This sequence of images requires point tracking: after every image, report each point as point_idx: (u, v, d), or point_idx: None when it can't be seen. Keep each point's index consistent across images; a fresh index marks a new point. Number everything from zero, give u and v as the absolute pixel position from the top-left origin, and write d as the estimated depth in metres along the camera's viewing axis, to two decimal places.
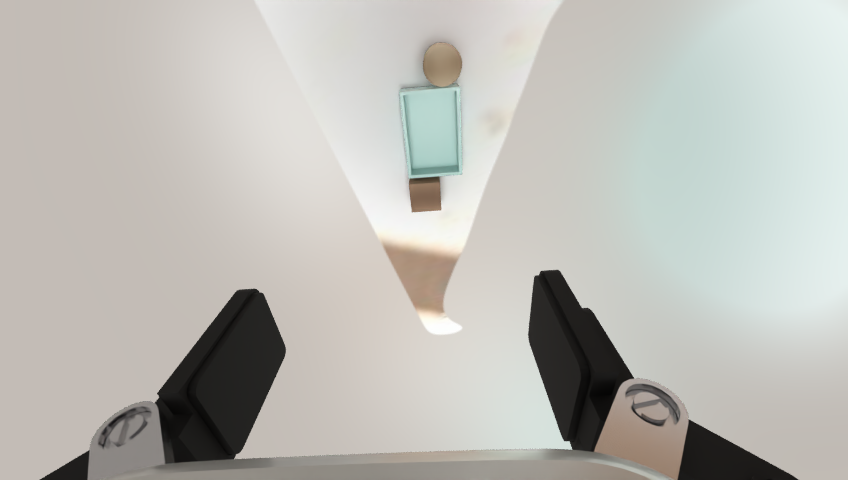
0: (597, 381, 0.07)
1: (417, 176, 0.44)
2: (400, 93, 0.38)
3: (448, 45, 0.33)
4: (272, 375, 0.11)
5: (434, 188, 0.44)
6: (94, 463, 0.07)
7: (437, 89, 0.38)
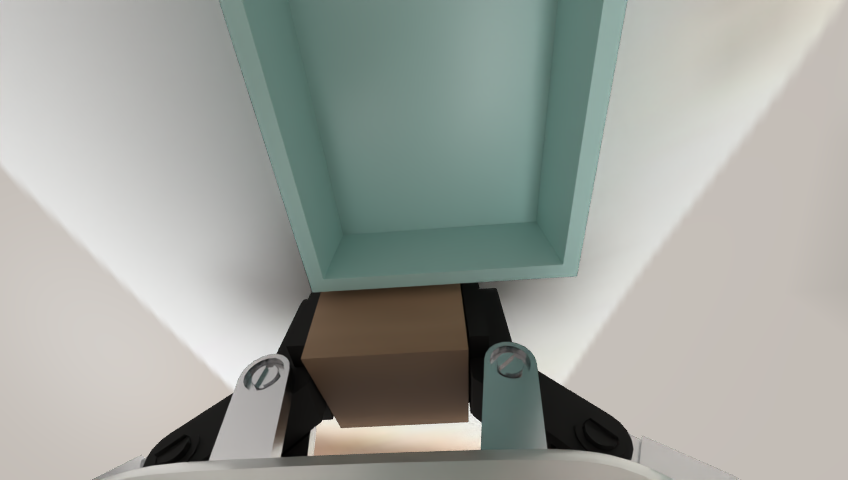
0: (474, 345, 0.08)
1: (353, 283, 0.09)
2: None
3: None
4: None
5: (439, 369, 0.08)
6: (235, 397, 0.08)
7: None
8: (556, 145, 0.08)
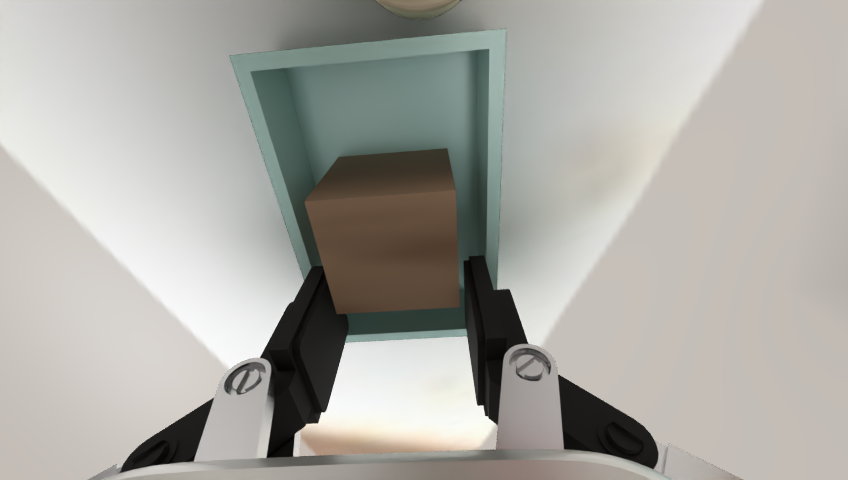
0: (491, 347, 0.08)
1: (352, 338, 0.14)
2: (235, 61, 0.09)
3: None
4: (341, 346, 0.12)
5: (427, 155, 0.11)
6: (216, 403, 0.08)
7: (401, 42, 0.08)
8: (480, 252, 0.13)
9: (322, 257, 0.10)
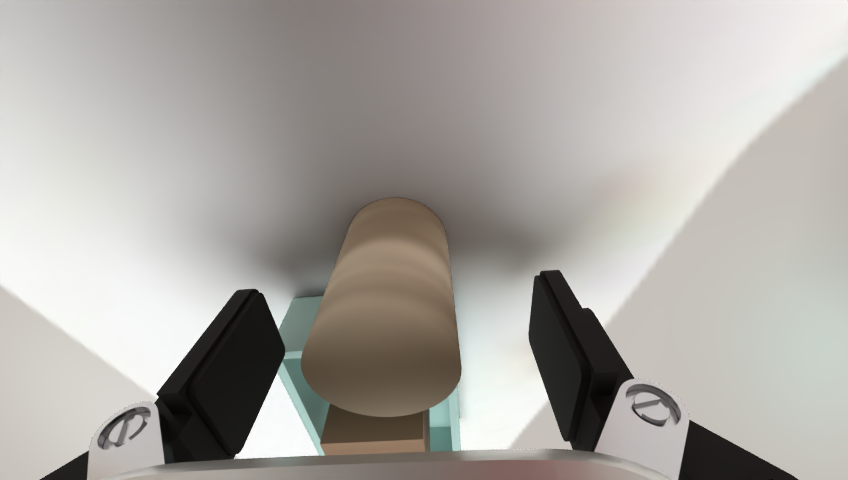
0: (597, 381, 0.07)
1: None
2: None
3: (401, 321, 0.07)
4: (272, 375, 0.11)
5: None
6: (93, 463, 0.07)
7: None
8: None
9: None
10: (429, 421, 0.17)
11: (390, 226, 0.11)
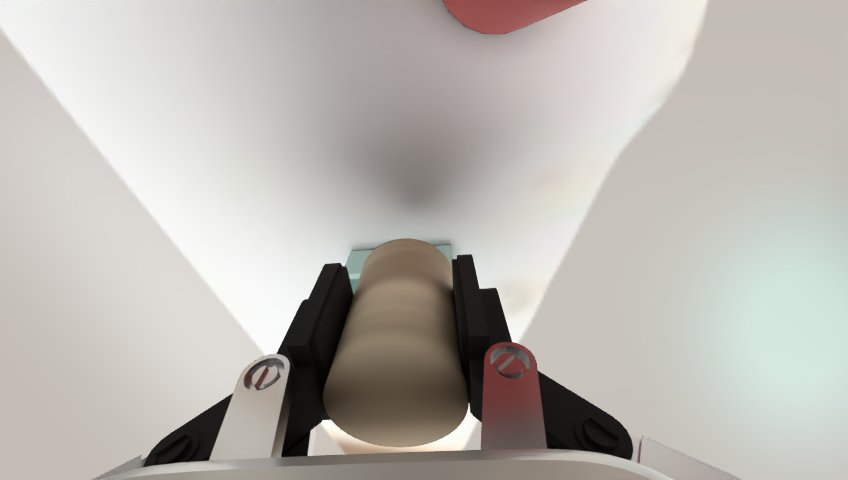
0: (474, 344, 0.09)
1: None
2: None
3: (414, 358, 0.08)
4: None
5: None
6: (235, 397, 0.08)
7: None
8: None
9: None
10: None
11: (402, 267, 0.12)
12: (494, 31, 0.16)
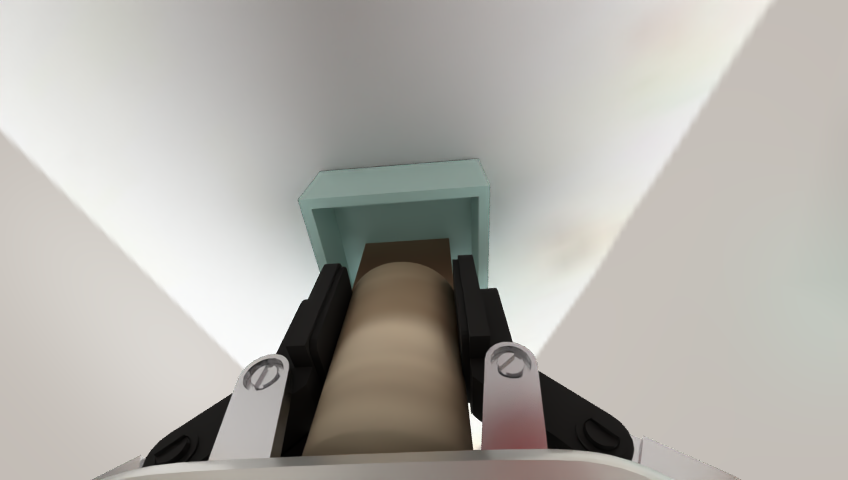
0: (474, 344, 0.09)
1: None
2: (302, 203, 0.12)
3: (409, 435, 0.07)
4: None
5: (433, 247, 0.15)
6: (235, 397, 0.08)
7: (418, 192, 0.12)
8: None
9: None
10: None
11: (397, 301, 0.10)
12: None
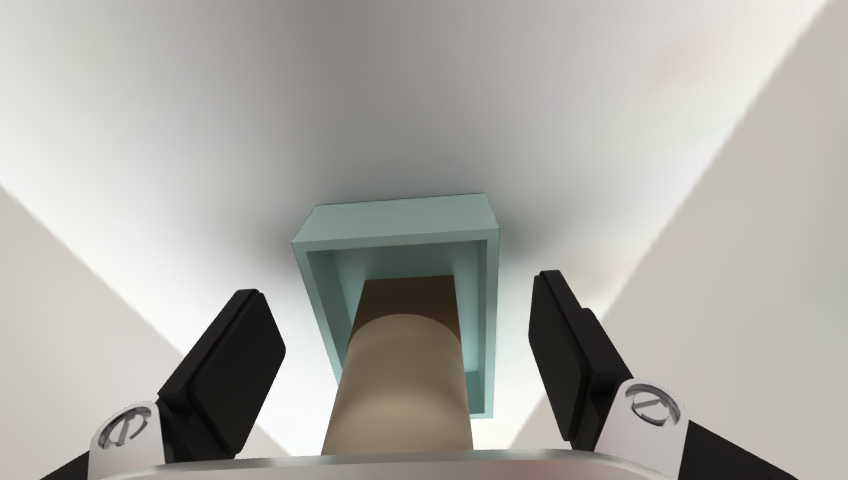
0: (597, 381, 0.07)
1: None
2: (295, 246, 0.11)
3: None
4: (272, 375, 0.11)
5: (437, 286, 0.14)
6: (94, 463, 0.07)
7: (421, 234, 0.11)
8: (480, 351, 0.16)
9: None
10: None
11: (399, 370, 0.09)
12: None
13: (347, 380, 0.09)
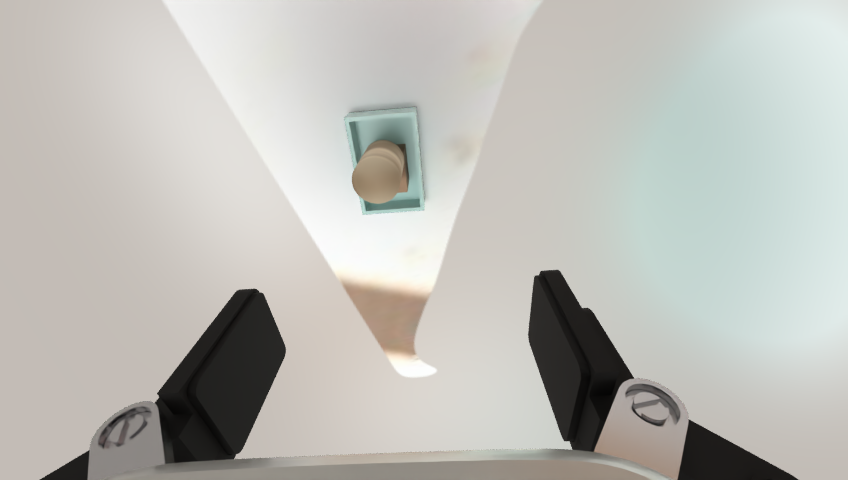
0: (597, 381, 0.07)
1: (372, 212, 0.38)
2: (345, 119, 0.33)
3: (381, 160, 0.27)
4: (272, 375, 0.11)
5: (398, 145, 0.35)
6: (94, 463, 0.07)
7: (389, 114, 0.32)
8: None
9: None
10: (408, 181, 0.37)
11: (380, 145, 0.30)
12: None
13: (364, 152, 0.31)
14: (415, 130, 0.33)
